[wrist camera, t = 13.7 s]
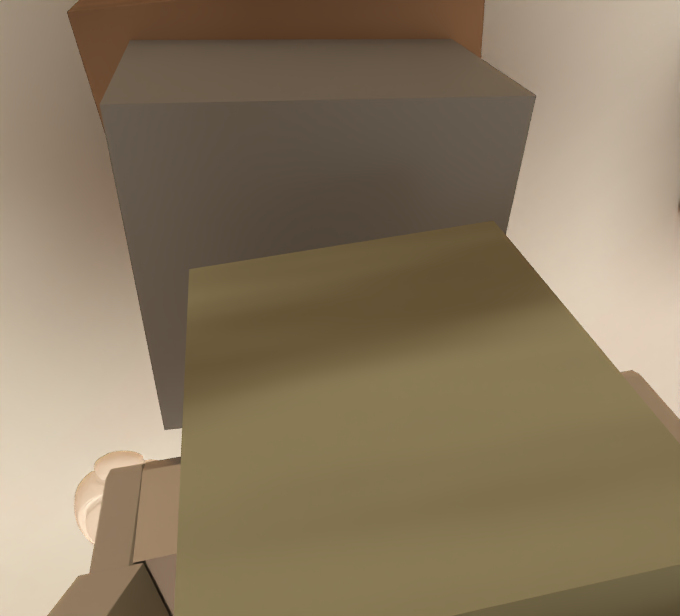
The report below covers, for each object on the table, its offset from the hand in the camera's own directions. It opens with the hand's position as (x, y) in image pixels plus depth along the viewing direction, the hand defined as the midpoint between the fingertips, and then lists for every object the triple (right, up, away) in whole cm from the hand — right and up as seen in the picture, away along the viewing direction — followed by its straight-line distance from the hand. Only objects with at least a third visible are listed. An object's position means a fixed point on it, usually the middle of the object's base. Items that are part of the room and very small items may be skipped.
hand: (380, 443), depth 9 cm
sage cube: (0, +1, +2) cm, 2 cm away
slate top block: (-2, +6, +8) cm, 10 cm away
